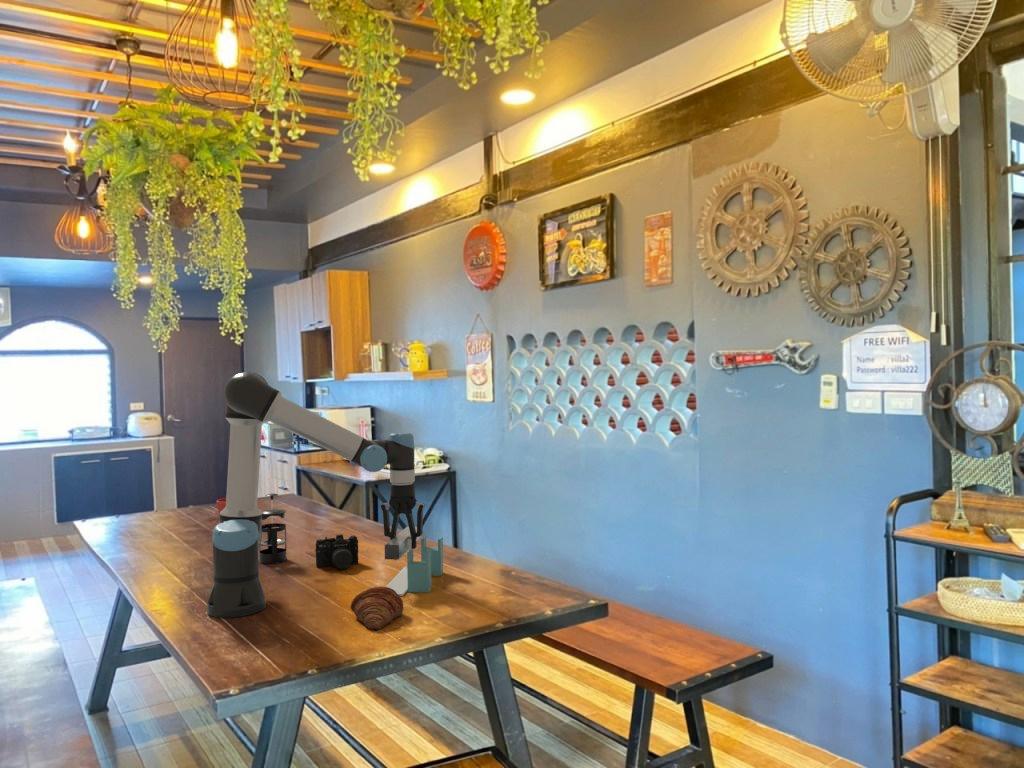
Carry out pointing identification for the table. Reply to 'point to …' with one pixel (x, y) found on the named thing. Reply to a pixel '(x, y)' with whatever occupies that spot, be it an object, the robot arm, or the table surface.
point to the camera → (337, 552)
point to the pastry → (377, 606)
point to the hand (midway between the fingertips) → (403, 558)
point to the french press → (272, 537)
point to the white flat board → (400, 582)
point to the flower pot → (221, 504)
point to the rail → (399, 544)
